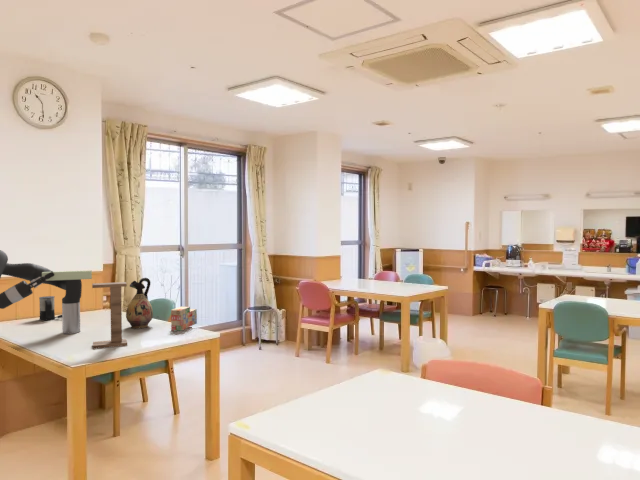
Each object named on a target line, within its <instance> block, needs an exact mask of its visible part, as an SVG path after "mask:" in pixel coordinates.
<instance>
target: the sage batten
mask: <svg viewBox="0 0 640 480" xmlns="http://www.w3.org/2000/svg"><path fill="white" fill-rule="evenodd" d="M48 273H50V272H42V277H43V276H44V275H47V274H48ZM53 273H54V276H53V277H51V278H49V279H47V281H50V280H76V279H81V280H92V279H93V271H92V270H66V271H65V270H64V271H53Z"/></svg>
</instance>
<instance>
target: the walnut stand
mask: <svg viewBox="0 0 640 480" xmlns="http://www.w3.org/2000/svg"><path fill="white" fill-rule="evenodd" d="M127 284H128V283H127V282H126V281H120V282H119V281H118V282H116V281H115V282H99V283H96V282H95V283H94V282H93V283H92V285H91V286H92V289H101V288H109V289H110V296H109V297H110V299H109V300H110V340H101V341H100V340H99V341H93V342H92V349H93V350H95V349H96V348H97V349H103V348H115V347H117V348H118V347H127V346H128V341H127V338H123V327H122V325H123V323H122V320H123V319H122V318H123V317H122V316H123V315H122V314H123V313H122V312H123V311H122V308H123V307H122V288H123V287H127ZM97 349H96V350H97Z"/></svg>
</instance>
